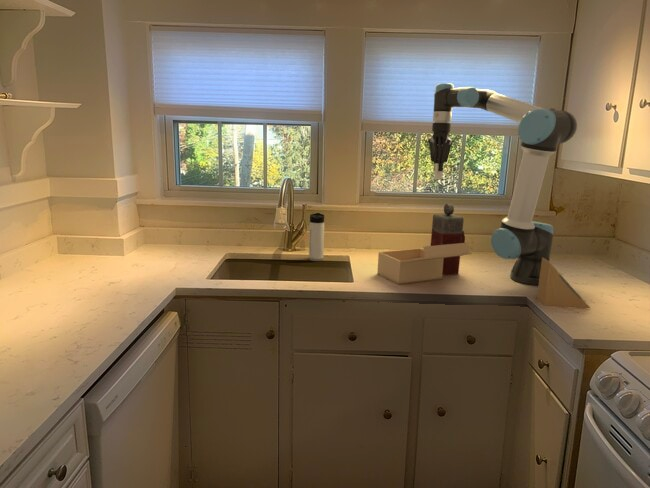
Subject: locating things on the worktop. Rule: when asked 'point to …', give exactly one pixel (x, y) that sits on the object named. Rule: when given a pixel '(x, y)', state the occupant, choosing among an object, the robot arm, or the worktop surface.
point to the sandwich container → (556, 289)
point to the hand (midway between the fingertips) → (437, 178)
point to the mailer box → (408, 266)
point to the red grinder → (448, 236)
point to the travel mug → (316, 237)
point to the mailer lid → (443, 251)
